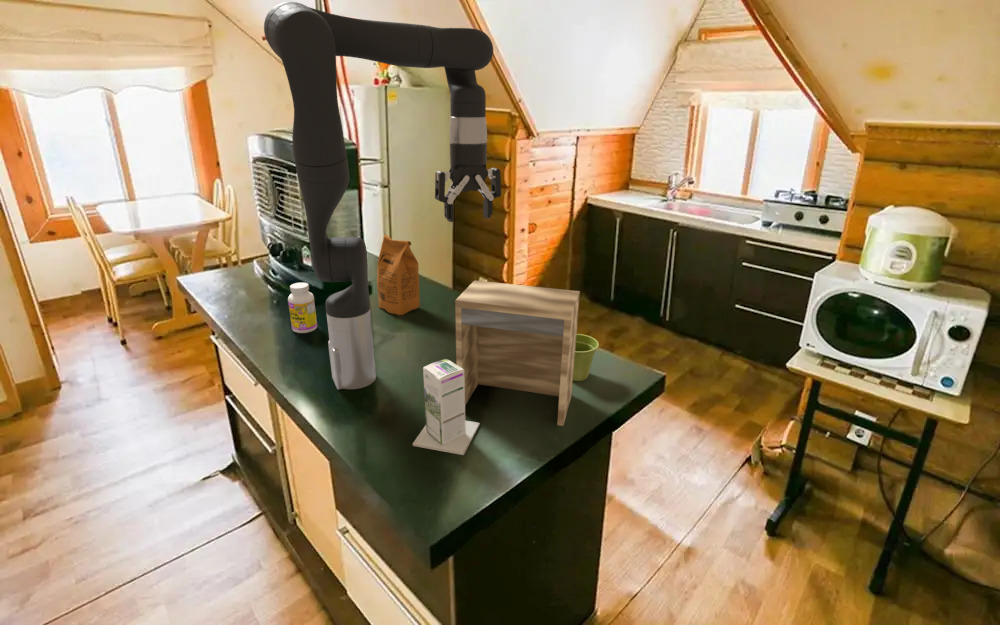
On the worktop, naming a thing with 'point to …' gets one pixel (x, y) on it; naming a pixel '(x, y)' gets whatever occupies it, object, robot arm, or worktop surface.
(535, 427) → the worktop surface
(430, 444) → the mat
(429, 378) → the syrup box
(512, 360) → the hutch
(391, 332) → the worktop surface
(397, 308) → the coffee package
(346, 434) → the worktop surface
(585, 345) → the plant pot
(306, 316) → the supplement bottle
